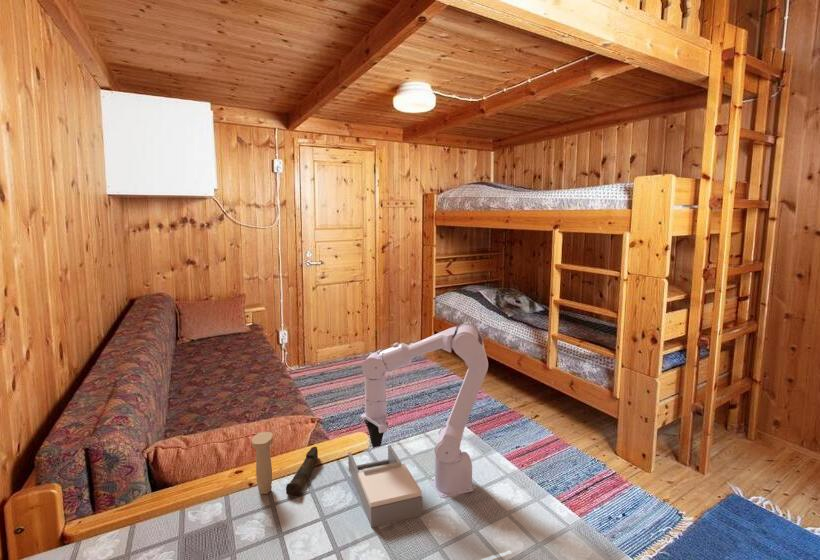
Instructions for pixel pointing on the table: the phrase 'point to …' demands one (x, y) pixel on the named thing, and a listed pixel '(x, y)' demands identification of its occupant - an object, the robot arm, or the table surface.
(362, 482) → the lid
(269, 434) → the handle
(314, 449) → the brown log
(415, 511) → the box
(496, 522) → the table surface
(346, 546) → the table surface
